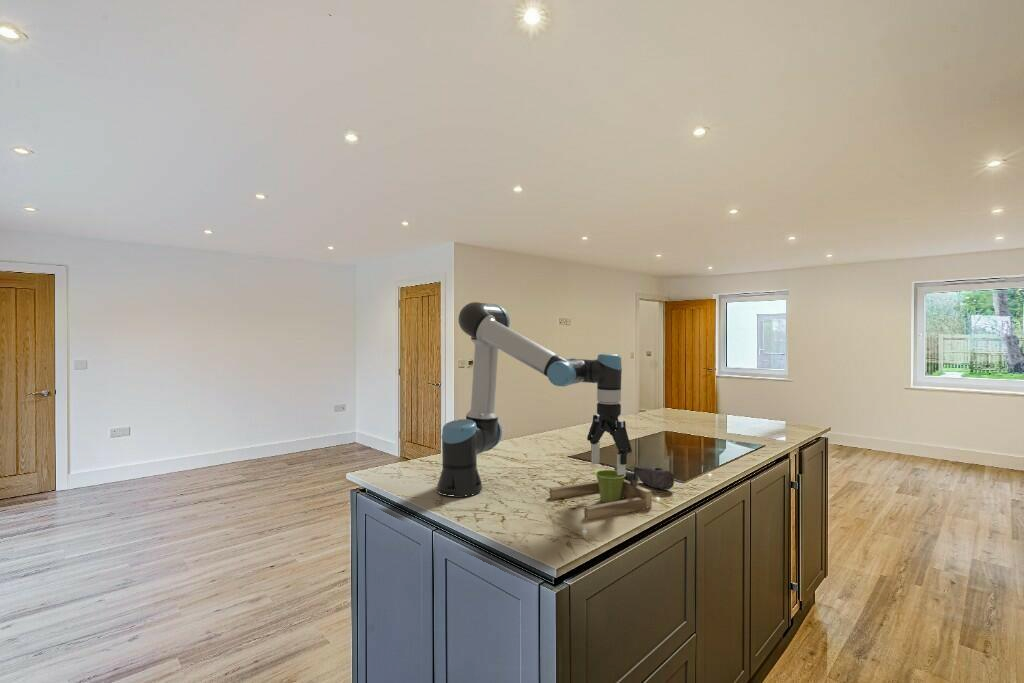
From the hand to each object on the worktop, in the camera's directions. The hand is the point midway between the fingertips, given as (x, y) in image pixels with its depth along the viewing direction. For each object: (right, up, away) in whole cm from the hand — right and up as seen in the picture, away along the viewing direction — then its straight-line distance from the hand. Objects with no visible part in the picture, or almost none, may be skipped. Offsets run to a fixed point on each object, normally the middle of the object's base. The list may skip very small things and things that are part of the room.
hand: (607, 469), depth 155 cm
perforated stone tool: (+19, -10, +14) cm, 25 cm away
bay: (-3, -10, -2) cm, 11 cm away
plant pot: (+1, -10, -1) cm, 10 cm away
